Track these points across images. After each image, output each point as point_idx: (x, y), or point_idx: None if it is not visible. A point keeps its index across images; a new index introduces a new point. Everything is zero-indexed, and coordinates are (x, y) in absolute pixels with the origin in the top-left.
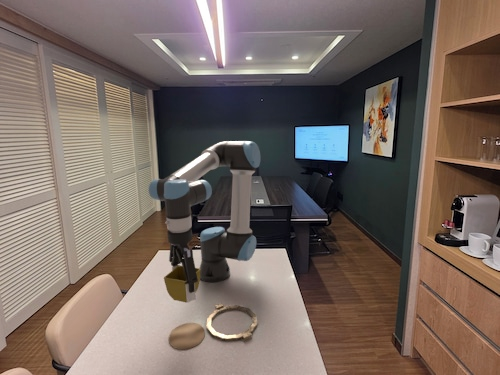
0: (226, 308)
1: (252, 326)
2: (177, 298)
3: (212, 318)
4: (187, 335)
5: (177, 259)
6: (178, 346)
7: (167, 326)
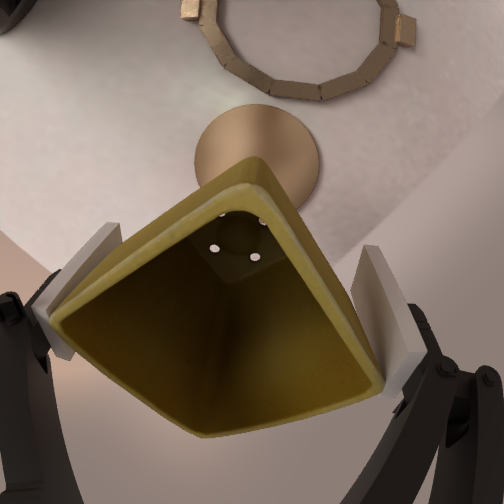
0: None
1: None
2: (262, 295)
3: (233, 52)
4: None
5: (42, 408)
6: None
7: (170, 196)
